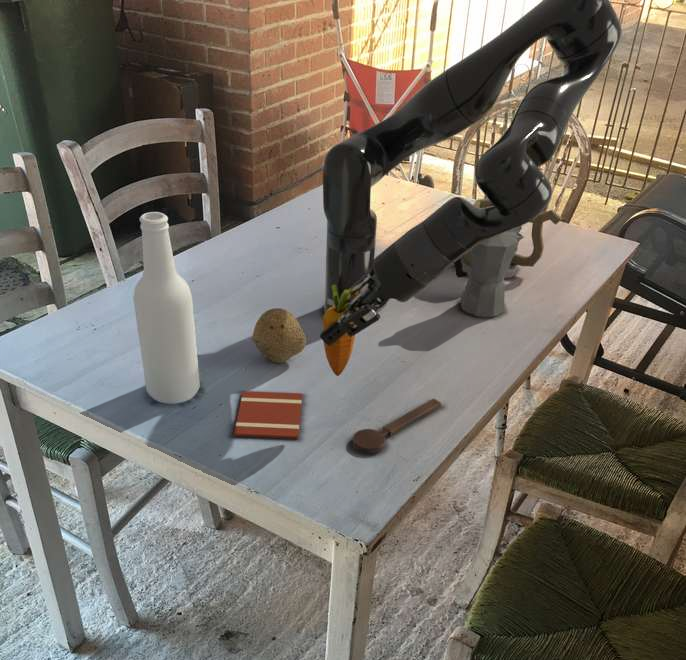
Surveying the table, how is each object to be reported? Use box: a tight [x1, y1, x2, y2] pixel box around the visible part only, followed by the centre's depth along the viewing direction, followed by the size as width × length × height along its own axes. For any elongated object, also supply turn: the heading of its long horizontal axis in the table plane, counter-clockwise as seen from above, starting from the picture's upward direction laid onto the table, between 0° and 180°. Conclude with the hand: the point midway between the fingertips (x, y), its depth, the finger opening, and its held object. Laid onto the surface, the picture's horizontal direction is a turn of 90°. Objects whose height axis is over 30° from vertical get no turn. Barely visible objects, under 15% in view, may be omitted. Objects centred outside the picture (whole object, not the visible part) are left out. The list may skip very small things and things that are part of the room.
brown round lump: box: [252, 307, 307, 364], centre depth 134 cm, size 9×9×10 cm
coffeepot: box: [453, 232, 525, 318], centre depth 150 cm, size 15×9×18 cm, turn 110°
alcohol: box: [133, 211, 201, 405], centre depth 118 cm, size 9×9×30 cm
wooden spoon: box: [352, 398, 442, 455], centre depth 122 cm, size 19×5×1 cm, turn 134°
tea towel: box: [233, 390, 303, 440], centre depth 123 cm, size 10×12×1 cm
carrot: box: [322, 285, 356, 377], centre depth 114 cm, size 5×5×15 cm
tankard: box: [461, 197, 562, 279], centre depth 165 cm, size 20×13×15 cm, turn 68°
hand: (326, 330), depth 114 cm, fingers closed on carrot, 5 cm apart
